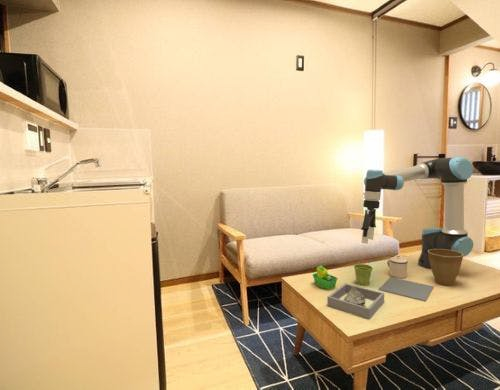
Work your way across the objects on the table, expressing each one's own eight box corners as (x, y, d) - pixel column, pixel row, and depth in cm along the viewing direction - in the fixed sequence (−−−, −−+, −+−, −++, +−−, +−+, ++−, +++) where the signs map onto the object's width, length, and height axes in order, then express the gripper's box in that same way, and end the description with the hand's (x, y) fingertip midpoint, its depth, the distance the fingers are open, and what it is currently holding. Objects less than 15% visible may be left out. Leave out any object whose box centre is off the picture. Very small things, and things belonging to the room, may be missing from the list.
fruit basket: (338, 287, 142) (338, 266, 141) (326, 292, 138) (326, 269, 137) (322, 280, 152) (322, 260, 151) (309, 284, 147) (309, 263, 146)
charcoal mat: (390, 277, 153) (390, 276, 153) (433, 287, 140) (433, 286, 140) (378, 289, 138) (378, 288, 138) (425, 301, 125) (425, 300, 125)
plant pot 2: (460, 280, 147) (462, 250, 146) (462, 290, 135) (464, 258, 134) (427, 275, 156) (428, 247, 154) (426, 284, 143) (427, 253, 142)
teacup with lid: (411, 277, 153) (411, 256, 152) (398, 279, 151) (398, 258, 150) (393, 270, 165) (394, 250, 164) (381, 272, 162) (381, 252, 161)
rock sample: (335, 293, 127) (350, 281, 126) (341, 299, 132) (355, 287, 131) (350, 312, 119) (366, 298, 118) (356, 317, 123) (371, 304, 123)
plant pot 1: (376, 284, 145) (377, 268, 144) (362, 287, 141) (362, 271, 141) (363, 278, 153) (363, 262, 153) (349, 281, 150) (349, 265, 149)
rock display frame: (345, 291, 138) (345, 283, 137) (384, 301, 126) (384, 293, 125) (327, 305, 124) (327, 296, 123) (369, 319, 112) (369, 309, 111)
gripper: (369, 198, 155) (365, 236, 157) (358, 199, 135) (353, 243, 136) (383, 200, 151) (379, 239, 152) (374, 201, 131) (370, 246, 132)
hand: (367, 241), depth 144 cm, fingers open, 13 cm apart
